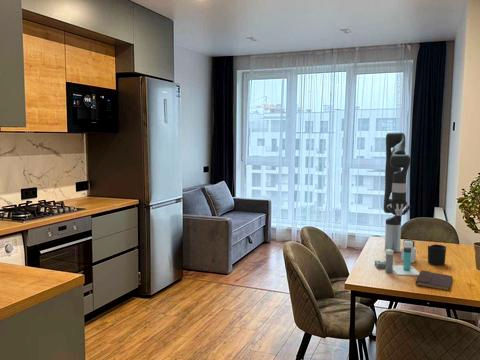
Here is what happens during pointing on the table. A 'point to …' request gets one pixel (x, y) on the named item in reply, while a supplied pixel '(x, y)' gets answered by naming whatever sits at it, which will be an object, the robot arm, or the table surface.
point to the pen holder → (436, 254)
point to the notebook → (434, 280)
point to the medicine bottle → (413, 250)
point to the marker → (407, 259)
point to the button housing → (380, 265)
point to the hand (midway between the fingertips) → (398, 222)
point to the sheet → (400, 271)
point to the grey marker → (389, 261)
